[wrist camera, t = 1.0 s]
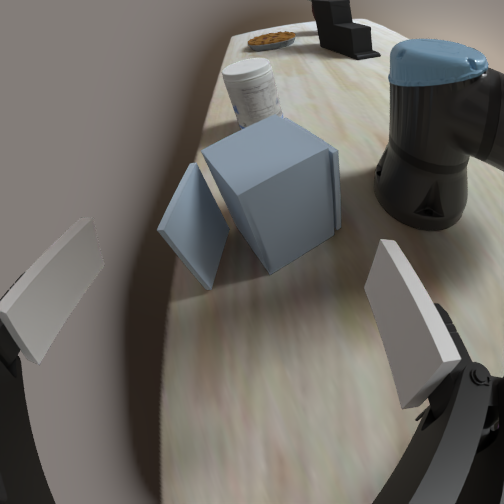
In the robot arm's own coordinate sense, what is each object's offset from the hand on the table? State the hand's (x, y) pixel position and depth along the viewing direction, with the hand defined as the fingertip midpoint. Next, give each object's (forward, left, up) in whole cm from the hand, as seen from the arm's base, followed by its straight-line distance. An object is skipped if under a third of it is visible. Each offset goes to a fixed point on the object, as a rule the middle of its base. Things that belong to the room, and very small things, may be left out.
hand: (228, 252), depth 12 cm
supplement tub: (-20, -43, -21) cm, 52 cm away
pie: (-62, -107, -21) cm, 125 cm away
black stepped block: (-73, -71, -21) cm, 104 cm away
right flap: (+1, -17, -20) cm, 26 cm away
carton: (-8, -16, -21) cm, 27 cm away
